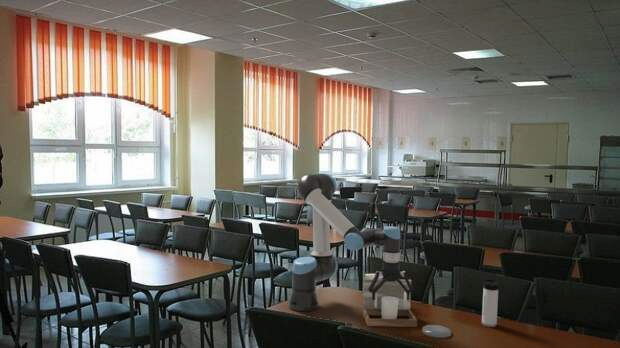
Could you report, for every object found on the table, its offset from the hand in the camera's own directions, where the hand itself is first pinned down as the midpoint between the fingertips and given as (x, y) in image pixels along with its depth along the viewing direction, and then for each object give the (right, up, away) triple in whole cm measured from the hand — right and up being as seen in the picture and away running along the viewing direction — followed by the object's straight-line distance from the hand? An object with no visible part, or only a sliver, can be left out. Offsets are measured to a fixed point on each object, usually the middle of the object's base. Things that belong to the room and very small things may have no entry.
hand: (390, 307), depth 213 cm
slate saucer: (+18, -8, -12) cm, 23 cm away
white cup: (0, -7, +1) cm, 7 cm away
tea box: (-1, -5, +23) cm, 23 cm away
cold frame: (0, -6, +1) cm, 6 cm away
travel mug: (+45, -8, -1) cm, 45 cm away
